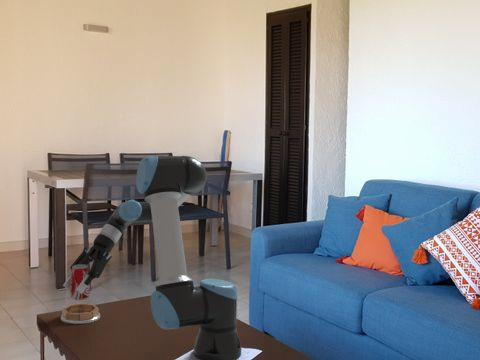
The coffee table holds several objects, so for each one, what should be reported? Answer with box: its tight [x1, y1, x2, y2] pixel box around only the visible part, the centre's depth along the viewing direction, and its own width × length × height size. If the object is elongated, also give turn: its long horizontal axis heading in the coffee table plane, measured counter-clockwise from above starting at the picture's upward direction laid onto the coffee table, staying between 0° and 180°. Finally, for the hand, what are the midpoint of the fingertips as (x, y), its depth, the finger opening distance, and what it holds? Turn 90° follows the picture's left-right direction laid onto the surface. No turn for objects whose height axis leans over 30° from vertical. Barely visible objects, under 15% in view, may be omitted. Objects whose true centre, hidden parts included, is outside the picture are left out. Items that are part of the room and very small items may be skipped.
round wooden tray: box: [60, 302, 101, 325], centre depth 221 cm, size 14×14×4 cm
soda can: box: [69, 264, 91, 301], centre depth 220 cm, size 7×7×12 cm
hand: (72, 289), depth 217 cm, fingers closed on soda can, 7 cm apart
